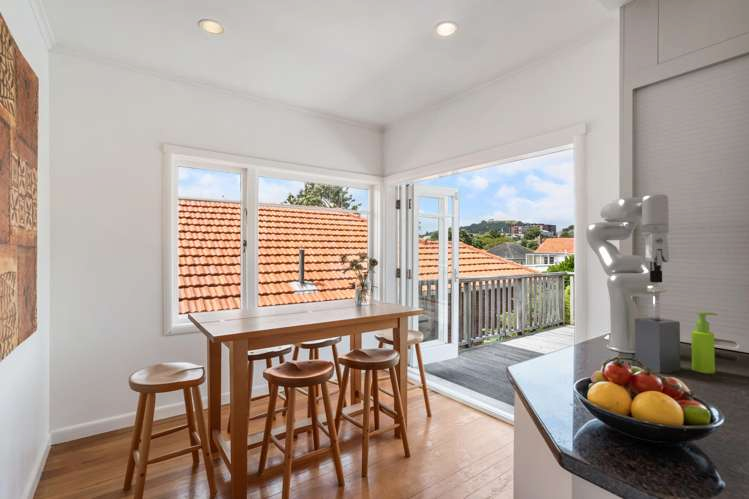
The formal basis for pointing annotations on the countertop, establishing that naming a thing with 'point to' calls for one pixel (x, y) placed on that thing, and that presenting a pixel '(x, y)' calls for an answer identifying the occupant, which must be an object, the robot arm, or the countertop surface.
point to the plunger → (656, 299)
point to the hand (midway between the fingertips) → (656, 282)
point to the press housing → (658, 344)
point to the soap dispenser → (703, 346)
